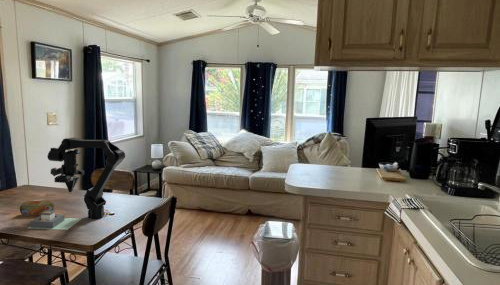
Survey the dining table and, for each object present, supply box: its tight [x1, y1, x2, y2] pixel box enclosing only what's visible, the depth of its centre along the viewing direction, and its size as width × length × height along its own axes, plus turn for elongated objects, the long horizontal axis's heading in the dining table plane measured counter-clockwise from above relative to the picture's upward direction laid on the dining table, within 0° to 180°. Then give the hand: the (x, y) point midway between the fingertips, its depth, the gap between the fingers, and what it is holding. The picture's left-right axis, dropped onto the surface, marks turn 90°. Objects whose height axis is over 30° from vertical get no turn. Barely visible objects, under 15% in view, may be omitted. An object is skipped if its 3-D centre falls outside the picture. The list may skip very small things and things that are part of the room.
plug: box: [40, 209, 56, 220], centre depth 151 cm, size 4×4×6 cm
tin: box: [19, 199, 55, 217], centre depth 162 cm, size 15×3×8 cm, turn 105°
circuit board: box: [27, 217, 82, 231], centre depth 153 cm, size 18×14×1 cm
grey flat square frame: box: [30, 213, 65, 229], centre depth 151 cm, size 10×10×3 cm
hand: (70, 192), depth 163 cm, fingers closed
